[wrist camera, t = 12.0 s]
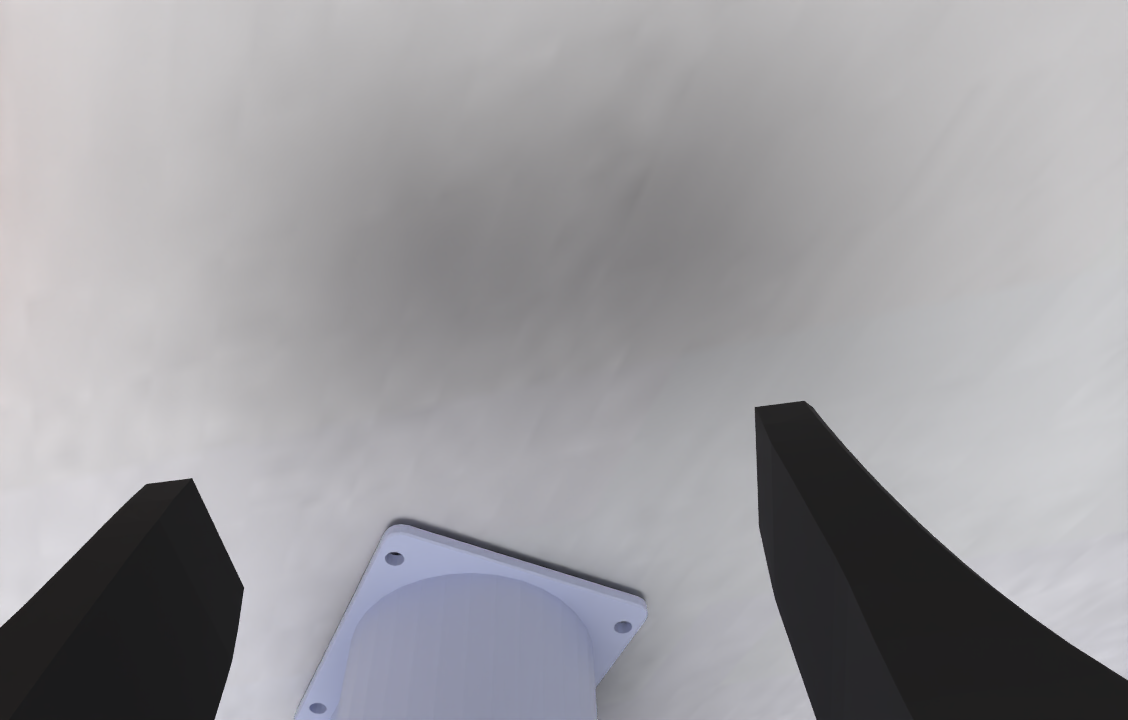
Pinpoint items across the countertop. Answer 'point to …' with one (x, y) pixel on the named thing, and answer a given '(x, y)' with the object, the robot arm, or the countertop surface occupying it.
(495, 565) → the robot arm
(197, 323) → the countertop surface
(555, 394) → the countertop surface
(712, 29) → the countertop surface
